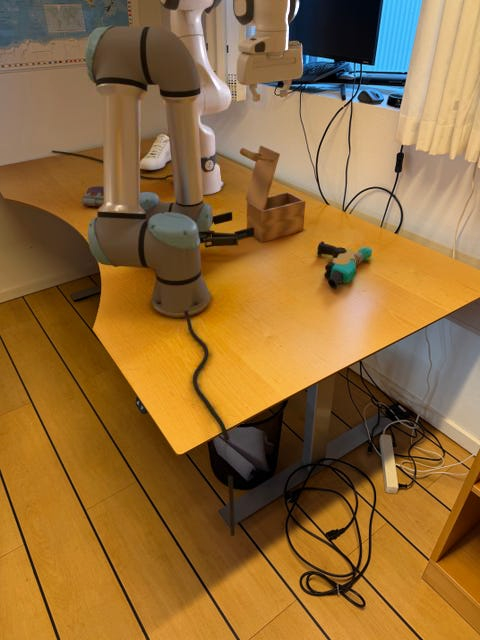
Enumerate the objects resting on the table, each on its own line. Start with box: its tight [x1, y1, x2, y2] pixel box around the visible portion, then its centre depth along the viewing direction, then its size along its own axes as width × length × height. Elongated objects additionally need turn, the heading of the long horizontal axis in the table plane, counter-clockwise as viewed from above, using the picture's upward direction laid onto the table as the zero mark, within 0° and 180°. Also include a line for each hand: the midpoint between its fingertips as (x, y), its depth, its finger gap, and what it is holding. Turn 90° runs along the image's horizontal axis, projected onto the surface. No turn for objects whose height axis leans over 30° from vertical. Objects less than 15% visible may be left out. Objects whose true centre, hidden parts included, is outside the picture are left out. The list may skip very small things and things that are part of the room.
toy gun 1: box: [80, 185, 104, 208], centre depth 180 cm, size 4×19×15 cm
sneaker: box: [140, 133, 171, 171], centre depth 214 cm, size 10×29×12 cm, turn 163°
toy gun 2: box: [316, 240, 373, 290], centre depth 137 cm, size 4×26×15 cm
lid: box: [239, 145, 281, 210], centre depth 144 cm, size 17×10×8 cm
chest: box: [246, 191, 306, 243], centre depth 157 cm, size 16×10×10 cm, turn 120°
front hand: (242, 223), depth 151 cm, fingers open, 13 cm apart
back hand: (270, 99), depth 134 cm, fingers open, 8 cm apart
